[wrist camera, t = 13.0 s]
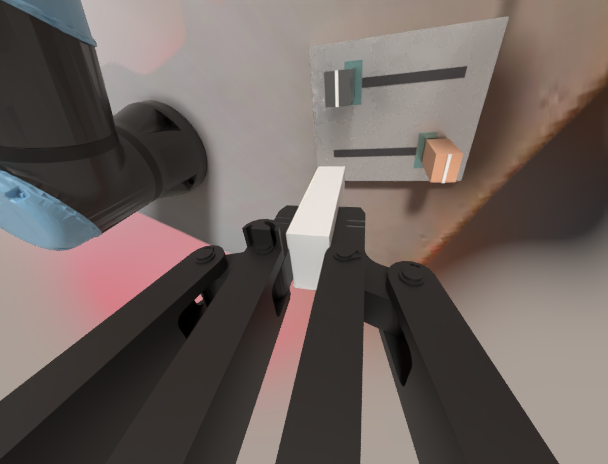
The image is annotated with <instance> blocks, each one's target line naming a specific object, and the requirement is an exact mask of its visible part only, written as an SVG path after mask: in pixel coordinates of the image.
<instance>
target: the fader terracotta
mask: <svg viewBox="0 0 608 464" xmlns="http://www.w3.org/2000/svg"><path fill="white" fill-rule="evenodd" d="M462 157H463V153H462V152H461V151H460V150H459V149H458V148H457V147H456V146H455V144H454V143H453V142H452V141H451V140H450V139H449V138H446V139H426V144H425V149H424V154H423V160H422V165H423V167H424V170H425V172H426V174H427V176H428V178H429V180H430V182H441V183H445V182H456V179H457V175H458V171H459V168H460V164H461V161H462Z"/></svg>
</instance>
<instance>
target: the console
mask: <svg viewBox="0 0 608 464" xmlns="http://www.w3.org/2000/svg"><path fill="white" fill-rule="evenodd" d="M508 19H509V16H506V17H500V18H493V19H487V20H480V21H474V22H467V23H461V24H454V25H448V26H441V27H435V28H428V29H422V30H415V31H408V32H402V33H395V34H389V35H382V36H376V37H369V38H363V39H356V40H350V41H343V42H337V43H330V44H324V45H317V46H311V47H309V59H310V73H311V87H312V101H313V115H314V129H315V143H316V157H317V168H318V166H345V181H430V180H429V178H428V176H427V174H426V172H425V170H424V167H423V165H422V160H423V154H424V149H425V144H426V139H446V138H449V139H450V140H451V141H452V142H453V143H454V144H455V146H456V147H457V148H458V149H459V150H460V151H461V152H462V153H463V157H462V161H461V164H460V168H459V171H458V175H457V179H456V181H461V180H462V176H463V173H464V170H465V166H466V163H467V159H468V156H469V153H470V149H471V146H472V142H473V139H474V135H475V132H476V129H477V125H478V122H479V118H480V115H481V112H482V108H483V105H484V101H485V98H486V94H487V91H488V88H489V84H490V81H491V77H492V74H493V70H494V67H495V64H496V60H497V57H498V53H499V50H500V47H501V43H502V40H503V36H504V33H505V29H506V26H507V23H508ZM351 68H355V72H354V100H353V101H352V103H351V104H350V106H341V107H328V108H325V86H324V72H327V71H335V70H343V69H351Z"/></svg>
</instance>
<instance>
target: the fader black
mask: <svg viewBox="0 0 608 464" xmlns="http://www.w3.org/2000/svg"><path fill="white" fill-rule="evenodd" d="M354 72H355V68H351V69H343V70H335V71H327V72H324V86H325V108H328V107H341V106H350V104H351V103H352V101H353V100H354Z"/></svg>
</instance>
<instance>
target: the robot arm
mask: <svg viewBox="0 0 608 464" xmlns="http://www.w3.org/2000/svg"><path fill="white" fill-rule="evenodd" d="M95 47H97V43H96V41H95V40H94V39H93V38H92V36H91V33H90V29H89V26H88V23H87V20H86V16H85V13H84V10H83V7H82V3H81V0H0V228H2V229H3V230H5V231H7V232H8V233H10V234H12V235H14V236H16V237H18V238H20V239H22V240H24V241H26V242H28V243H30V244H33V245H35V246H38V247H41V248H45V249H50V250H56V251H60V250H69V249H72V248H75V247H77V246H79V245H81V244H82V243H84V242H86V241H88V240H90V239H92V238H94V237H98V236H100V235H101V234H102V233H104V232H105V231H107V230H108V229H110V228H111V227H113V226H115V225H116V224H118V223H119V222H121V221H122V220H124V219H126V218H127V217H129V216H130V215H132V214H133V213H135V212H137V211H138V210H140V209H141V208H143V207H144V206H146V205H148V204H149V203H151V202H152V201H154V200H156V199H157V198H162V197H168V196H173V195H178V194H183V193H186V192H189V191H191V190H192V189H194V188H195V187H197V186H198V185H199V184H200V183H201V182H202V181H203V179H204V177H205V174H206V170H207V159H206V153H205V150H204V147H203V144H202V142H201V140H200V138H199V136H198V134H197V133H196V131H195V130H194V128H193V127H192V126H191V124H190V123H189V122H188V121H187V120H186V119H185V118H184V117H183V116H182V115H181V114H180V113H179V112H177V111H176V110H174V109H173V108H171V107H170V106H168V105H166V104H163V103H160V102H157V101H143V102H137V103H132V104H130V105H128V106H126V107H125V108H123V109H122V110H121V111H119V112H118V113H117V114H115V115H114V116H113V115H112V111H111V107H110V103H109V100H108V96H107V92H106V88H105V84H104V80H103V77H102V73H101V69H100V65H99V61H98V58H97V54H96V50H95ZM344 196H345V166H318V168H317V170H316V172H315V175H314V177H313V179H312V181H311V183H310V185H309V187H308V189H307V191H306V193H305V195H304V197H303V199H302V201H301V203H300V205H299V206H288V205H287V206H285V207H284V208H283V209H281V210H280V211H279V212H278V214H277V216H276V218H275V219H274V221H273V220H269V219H260V220H256V221H252V222H250V223H248V224H246V225H245V226H244V227H243V228H242V229H243V233H244V236H245V240H246V244H247V248H246V250H245V251H244V252H242V253H236V254H229V255H225V253H224V250H223V248H221V247H219V246H214V245H211V246H205V247H202V248H200V249H197V250H196V251H194V252H193V253H191V254H190V255H189V256H187V257H186V258H185V259H184V260H182V261H181V262H180V263H178V264H177V265H176V266H174V267H173V268H172V269H171V270H169V271H168V272H167V273H165V274H164V275H163V276H161V277H160V278H159V279H158V280H156V281H155V282H154V283H152V284H151V285H150V286H149V287H147V288H146V289H145V290H143V291H142V292H141V293H139V294H138V295H137V296H136V297H134V298H133V299H132V300H130V301H129V302H128V303H126V304H125V305H124V306H123V307H121V308H120V309H119V310H117V311H116V312H115V313H114V314H112V315H111V316H110V317H108V318H107V319H106V320H104V321H103V322H102V323H101V324H99V325H98V326H97V327H95V328H94V329H93V330H92V331H90V332H89V333H88V334H86V335H85V336H84V337H82V338H81V339H80V340H79V341H77V342H76V343H75V344H73V345H72V346H71V347H69V348H68V349H67V350H66V351H64V352H63V353H62V354H60V355H59V356H58V357H57V358H55V359H54V360H53V361H51V362H50V363H49V364H48V365H46V366H45V367H44V368H42V369H41V370H40V371H38V372H37V373H36V374H35V375H33V376H32V377H31V378H29V379H28V380H27V381H25V382H24V383H23V384H22V385H20V386H19V387H18V388H16V389H15V390H14V391H13V392H11V393H10V394H9V395H7V396H6V397H5V398H4V399H2V400H1V401H0V464H236V461H237V458H238V455H239V452H240V449H241V446H242V443H243V440H244V437H245V434H246V431H247V428H248V425H249V422H250V419H251V415H252V413H253V409H254V406H255V404H256V400H257V397H258V394H259V391H260V388H261V385H262V382H263V379H264V376H265V373H266V370H267V367H268V364H269V361H270V358H271V355H272V352H273V349H274V346H275V343H276V340H277V337H278V334H279V331H280V328H281V325H282V322H283V319H284V316H285V312H286V310H287V306H288V303H289V300H290V295H291V293H290V285H291V282H292V279H293V284H294V288H303V289H310V290H316V293H315V297H314V302H313V306H312V310H311V314H310V319H309V323H308V327H307V332H306V336H305V340H304V344H303V348H302V353H301V357H300V361H299V366H298V370H297V374H296V378H295V382H294V387H293V391H292V395H291V400H290V404H289V408H288V412H287V416H286V420H285V425H284V429H283V433H282V437H281V442H280V446H279V450H278V454H277V459H276V463H275V464H360V452H361V410H362V409H361V407H362V368H363V367H362V365H363V326H364V322H366V323H368V324H370V325H372V326H374V327H377V328H379V332H380V335H381V339H382V342H383V345H384V349H385V352H386V355H387V359H388V362H389V365H390V368H391V371H392V375H393V378H394V382H395V385H396V388H397V392H398V395H399V398H400V401H401V405H402V408H403V411H404V414H405V418H406V421H407V424H408V428H409V431H410V434H411V437H412V441H413V444H414V447H415V450H416V454H417V458H418V461H419V464H559V463H558V461H557V460H556V458H555V457H554V455H553V454H552V452H551V451H550V449H549V448H548V446H547V445H546V443H545V442H544V440H543V439H542V437H541V436H540V434H539V432H538V431H537V430H536V428H535V426H534V425H533V423H532V422H531V420H530V419H529V417H528V416H527V414H526V413H525V411H524V410H523V408H522V407H521V405H520V404H519V402H518V401H517V399H516V397H515V396H514V394H513V393H512V391H511V390H510V388H509V387H508V385H507V384H506V382H505V381H504V379H503V378H502V376H501V375H500V373H499V372H498V370H497V369H496V367H495V365H494V364H493V362H492V361H491V360H490V358H489V357H488V355H487V353H486V352H485V350H484V349H483V347H482V346H481V344H480V343H479V341H478V340H477V338H476V337H475V335H474V334H473V332H472V330H471V329H470V327H469V326H468V325H467V323H466V321H465V320H464V318H463V317H462V315H461V314H460V312H459V311H458V309H457V308H456V306H455V305H454V303H453V302H452V300H451V299H450V297H449V296H448V294H447V292H446V291H445V289H444V288H443V286H442V285H441V283H440V282H439V280H438V279H437V277H436V276H435V274H434V273H433V272H432V271H431V270H430V269H429V268H427V267H425V266H423V265H422V264H419V263H415V262H411V261H401V262H397V263H395V264H393V265H392V266H390V268H389V267H386V266H383V265H380V264H378V263H376V262H374V261H372V260H371V259H370V258H369V257H368V256H367V255H366V253H365V249H364V248H365V213H364V211H363V210H362V209H361V208H358V207H344ZM200 294H201V296H202V297H203V300H202V301H200V302H199V303H196V302H195V301H194V300H195V299H196V298H197V297H198V296H199V295H200Z"/></svg>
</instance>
